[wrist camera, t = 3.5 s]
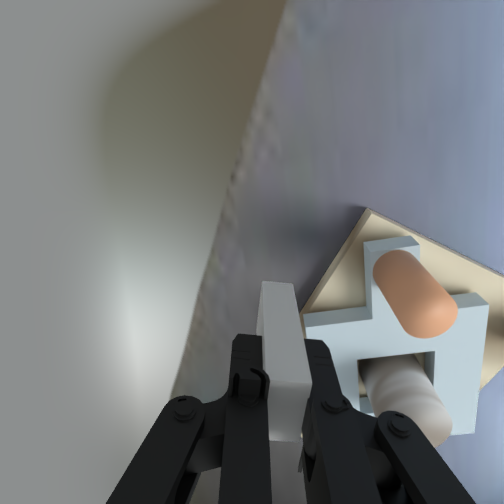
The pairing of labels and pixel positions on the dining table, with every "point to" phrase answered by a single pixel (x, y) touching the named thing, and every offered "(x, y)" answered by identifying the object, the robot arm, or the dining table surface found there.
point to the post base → (434, 262)
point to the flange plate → (393, 340)
